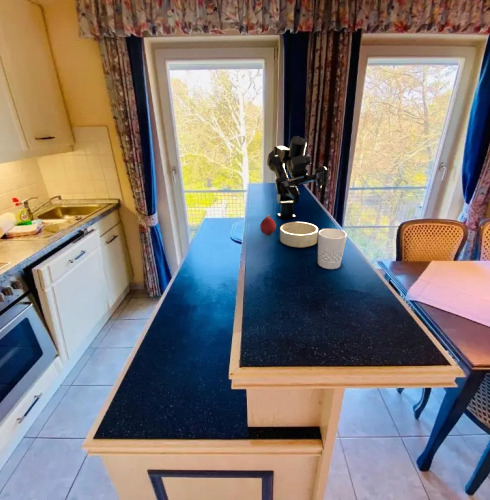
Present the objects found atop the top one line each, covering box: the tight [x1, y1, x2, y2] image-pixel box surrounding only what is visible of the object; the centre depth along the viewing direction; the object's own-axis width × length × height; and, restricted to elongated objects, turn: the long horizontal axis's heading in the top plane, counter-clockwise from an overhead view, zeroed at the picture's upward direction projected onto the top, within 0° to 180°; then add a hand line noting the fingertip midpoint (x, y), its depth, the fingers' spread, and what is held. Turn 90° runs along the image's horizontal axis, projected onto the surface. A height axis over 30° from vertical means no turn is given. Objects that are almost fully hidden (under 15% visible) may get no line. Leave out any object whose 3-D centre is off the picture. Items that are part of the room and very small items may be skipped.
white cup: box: [317, 228, 348, 270], centre depth 82 cm, size 8×8×10 cm
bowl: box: [279, 221, 319, 248], centre depth 100 cm, size 13×13×5 cm
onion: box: [259, 214, 277, 237], centre depth 104 cm, size 6×6×8 cm
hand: (307, 194), depth 97 cm, fingers open, 9 cm apart
